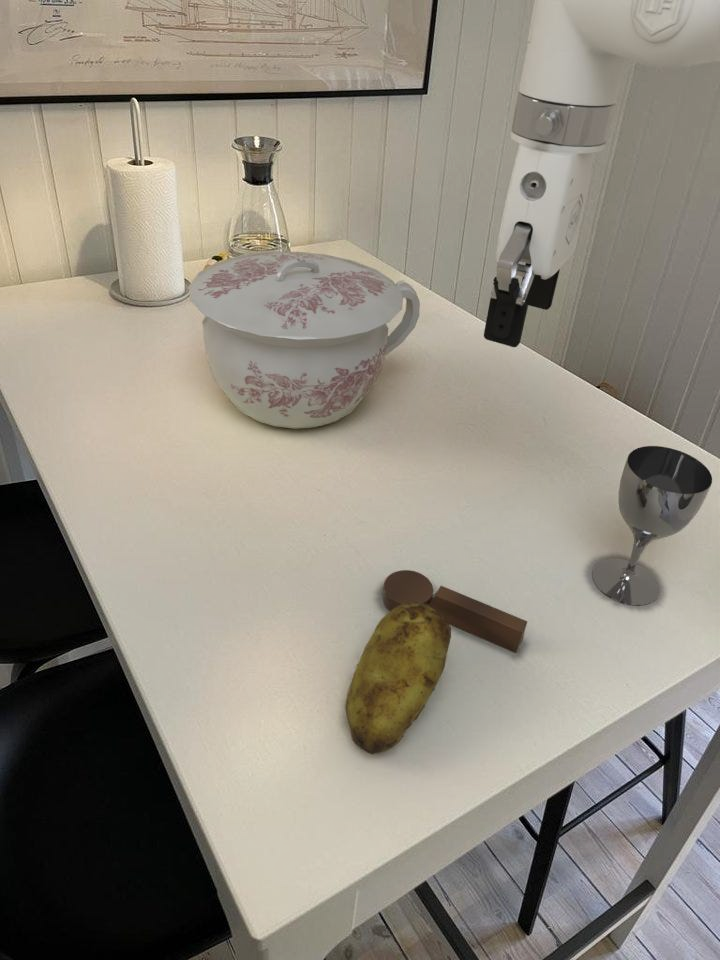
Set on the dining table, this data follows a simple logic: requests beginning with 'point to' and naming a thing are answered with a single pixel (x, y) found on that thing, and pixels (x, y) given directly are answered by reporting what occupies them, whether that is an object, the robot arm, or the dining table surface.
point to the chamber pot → (299, 333)
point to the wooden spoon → (455, 609)
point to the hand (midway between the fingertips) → (518, 322)
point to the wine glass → (651, 515)
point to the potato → (396, 675)
